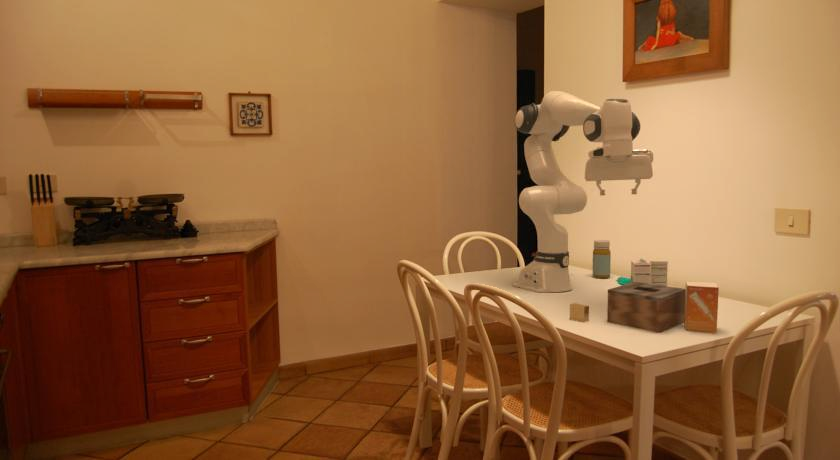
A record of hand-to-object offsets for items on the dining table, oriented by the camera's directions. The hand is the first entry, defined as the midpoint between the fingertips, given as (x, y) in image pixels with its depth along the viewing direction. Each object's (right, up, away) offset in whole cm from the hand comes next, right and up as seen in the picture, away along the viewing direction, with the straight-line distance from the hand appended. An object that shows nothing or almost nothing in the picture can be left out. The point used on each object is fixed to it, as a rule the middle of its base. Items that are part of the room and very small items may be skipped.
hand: (618, 194), depth 183 cm
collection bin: (+5, -38, -11) cm, 40 cm away
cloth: (+20, -33, +43) cm, 58 cm away
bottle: (+13, -31, +59) cm, 67 cm away
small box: (+17, -39, -18) cm, 47 cm away
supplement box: (+21, -34, +26) cm, 48 cm away
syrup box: (+11, -36, +12) cm, 40 cm away
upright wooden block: (-14, -39, -8) cm, 42 cm away
